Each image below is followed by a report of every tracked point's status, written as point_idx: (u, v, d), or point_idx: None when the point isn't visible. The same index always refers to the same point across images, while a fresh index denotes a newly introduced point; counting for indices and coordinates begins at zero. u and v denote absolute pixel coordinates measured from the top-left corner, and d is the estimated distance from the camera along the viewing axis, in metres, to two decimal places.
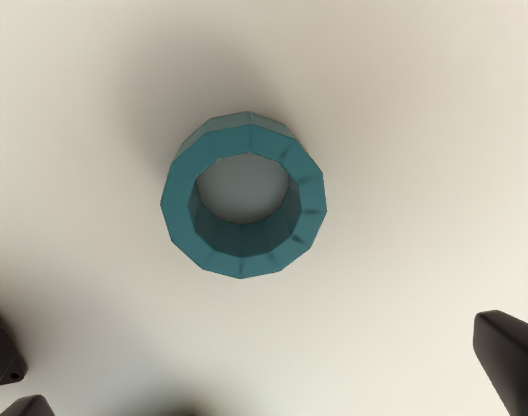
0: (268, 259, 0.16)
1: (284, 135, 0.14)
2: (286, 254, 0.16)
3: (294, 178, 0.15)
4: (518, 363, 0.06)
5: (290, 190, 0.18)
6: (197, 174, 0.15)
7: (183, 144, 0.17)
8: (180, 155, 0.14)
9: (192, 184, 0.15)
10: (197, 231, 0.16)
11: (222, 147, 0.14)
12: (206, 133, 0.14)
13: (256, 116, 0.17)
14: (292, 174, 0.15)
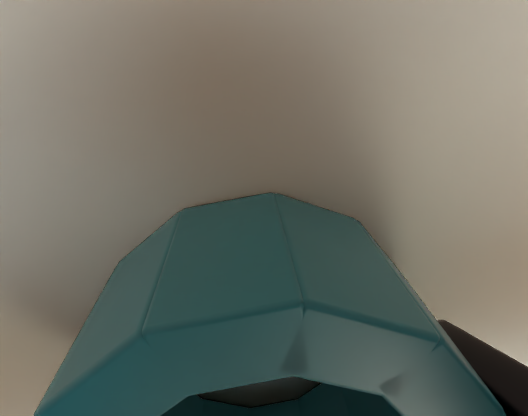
0: None
1: (408, 327, 0.04)
2: None
3: None
4: None
5: None
6: None
7: (111, 282, 0.07)
8: (61, 393, 0.04)
9: None
10: None
11: (201, 369, 0.04)
12: (144, 329, 0.04)
13: (297, 214, 0.06)
14: None
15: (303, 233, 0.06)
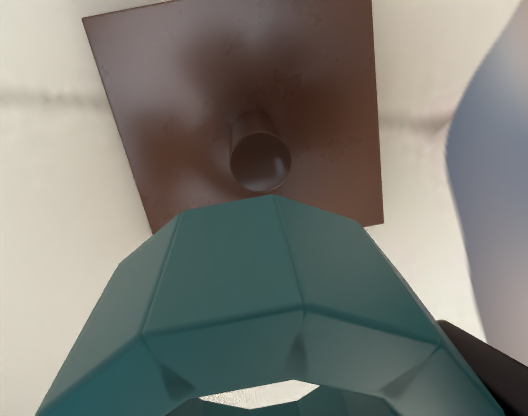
0: None
1: (409, 330, 0.04)
2: None
3: None
4: None
5: None
6: None
7: (111, 284, 0.07)
8: (61, 396, 0.04)
9: None
10: None
11: (201, 373, 0.04)
12: (144, 333, 0.04)
13: (297, 216, 0.06)
14: None
15: (303, 235, 0.06)
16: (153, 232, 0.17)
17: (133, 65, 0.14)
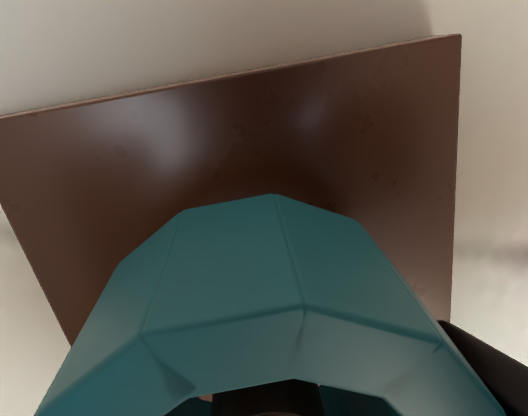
0: None
1: (409, 328, 0.04)
2: None
3: None
4: None
5: None
6: None
7: (111, 283, 0.07)
8: (60, 395, 0.04)
9: None
10: None
11: (201, 372, 0.04)
12: (144, 331, 0.04)
13: (297, 215, 0.06)
14: None
15: (303, 234, 0.06)
16: None
17: (58, 196, 0.09)
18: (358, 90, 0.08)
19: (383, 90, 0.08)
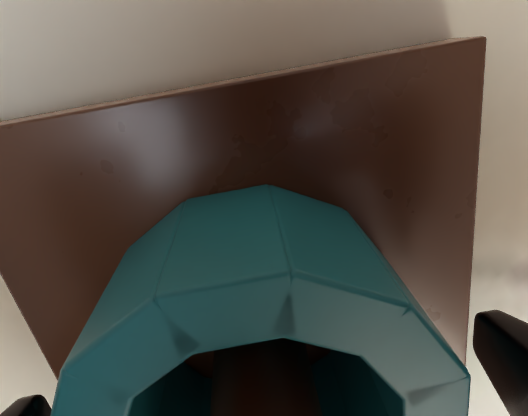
0: None
1: (382, 294, 0.05)
2: None
3: (397, 390, 0.06)
4: (518, 363, 0.06)
5: None
6: (136, 393, 0.05)
7: (122, 264, 0.07)
8: (84, 351, 0.05)
9: (124, 413, 0.06)
10: None
11: (204, 330, 0.05)
12: (156, 295, 0.05)
13: (289, 203, 0.07)
14: (393, 383, 0.06)
15: (294, 218, 0.06)
16: None
17: (38, 215, 0.08)
18: (370, 99, 0.07)
19: (399, 99, 0.07)
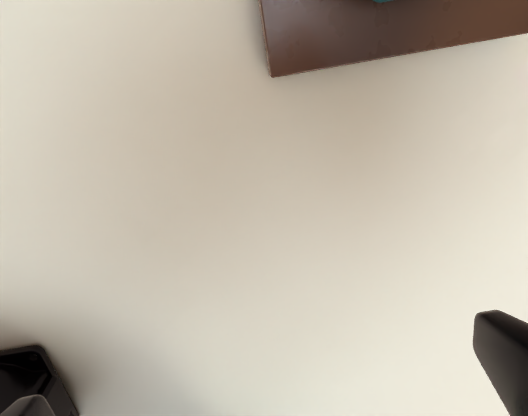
0: None
1: None
2: None
3: None
4: (518, 363, 0.06)
5: None
6: None
7: None
8: None
9: None
10: None
11: None
12: None
13: None
14: None
15: None
16: (266, 26, 0.15)
17: None
18: None
19: None
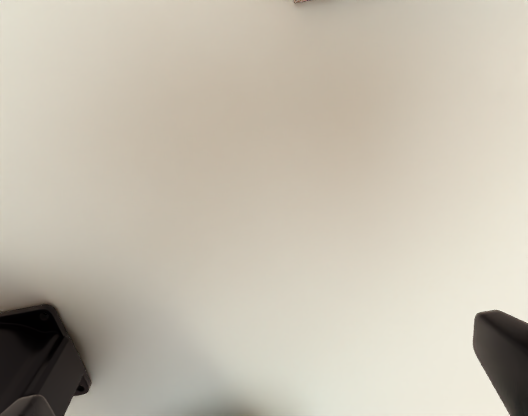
0: None
1: None
2: None
3: None
4: (518, 363, 0.06)
5: None
6: None
7: None
8: None
9: None
10: None
11: None
12: None
13: None
14: None
15: None
16: None
17: None
18: None
19: None
